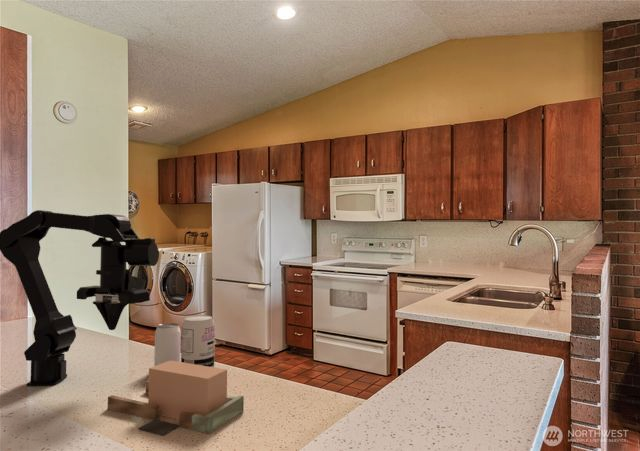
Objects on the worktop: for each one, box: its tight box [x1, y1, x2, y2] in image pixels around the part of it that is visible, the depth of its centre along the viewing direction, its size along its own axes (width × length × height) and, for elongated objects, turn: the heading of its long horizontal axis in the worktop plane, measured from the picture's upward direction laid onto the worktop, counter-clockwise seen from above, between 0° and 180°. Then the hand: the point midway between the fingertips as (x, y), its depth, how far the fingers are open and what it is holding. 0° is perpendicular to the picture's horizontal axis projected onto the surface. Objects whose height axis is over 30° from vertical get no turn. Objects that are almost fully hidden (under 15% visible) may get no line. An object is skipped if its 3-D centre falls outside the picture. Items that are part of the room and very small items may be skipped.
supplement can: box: [180, 315, 216, 368], centre depth 106 cm, size 8×8×15 cm
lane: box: [107, 379, 245, 436], centre depth 86 cm, size 26×19×3 cm
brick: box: [147, 360, 228, 420], centre depth 84 cm, size 15×6×9 cm, turn 66°
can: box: [153, 322, 182, 367], centre depth 111 cm, size 6×6×12 cm
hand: (112, 329), depth 101 cm, fingers closed
